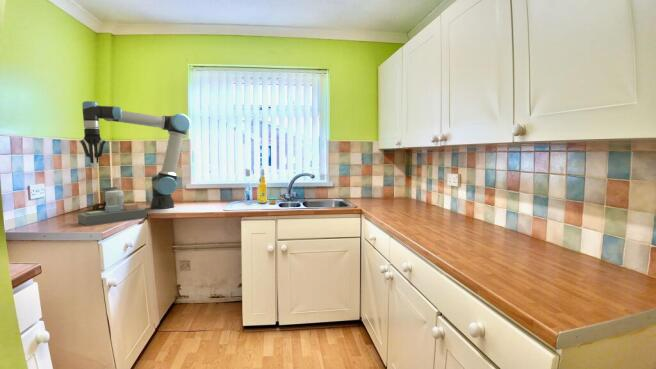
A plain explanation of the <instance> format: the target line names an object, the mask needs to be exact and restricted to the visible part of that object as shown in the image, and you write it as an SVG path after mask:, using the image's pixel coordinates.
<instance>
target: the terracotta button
mask: <svg viewBox="0 0 656 369" xmlns="http://www.w3.org/2000/svg"><path fill="white" fill-rule="evenodd" d="M122 206H123V210H125V211H128V210H137V209H138V208H139V206H138V203H135V202H132V203H124V204H122Z"/></svg>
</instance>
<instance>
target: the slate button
mask: <svg viewBox="0 0 656 369" xmlns="http://www.w3.org/2000/svg"><path fill="white" fill-rule="evenodd" d="M104 211H105V212H107V213H112V212H120V211H121V206H119V205H112V206H105V210H104Z"/></svg>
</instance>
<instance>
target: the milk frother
mask: <svg viewBox="0 0 656 369" xmlns="http://www.w3.org/2000/svg"><path fill="white" fill-rule="evenodd" d="M101 190H102V200H103V201H102V203H97V204H95V205H93V207H92V209H93V210H94V211H101V210H102V211H105V206H106V198H105V192H107V191H119V189H118V187H116V186H115V187H111V186H110V187H102V188H101ZM101 206H102V207H101Z"/></svg>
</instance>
